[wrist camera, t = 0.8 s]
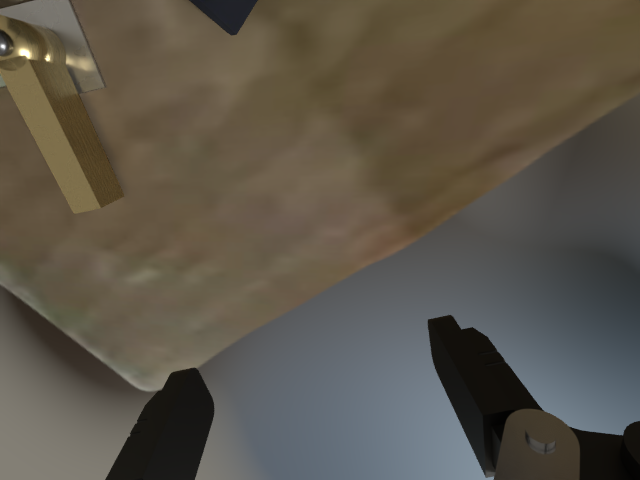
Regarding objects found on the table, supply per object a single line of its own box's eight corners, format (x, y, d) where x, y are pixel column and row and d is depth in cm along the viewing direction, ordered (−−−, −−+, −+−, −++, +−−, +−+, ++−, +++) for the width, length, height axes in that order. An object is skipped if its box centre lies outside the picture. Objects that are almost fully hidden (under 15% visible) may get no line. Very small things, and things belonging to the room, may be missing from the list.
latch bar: (11, 31, 27) (-37, 19, 23) (52, 21, 27) (11, 7, 23) (95, 202, 32) (68, 215, 29) (129, 194, 32) (106, 206, 29)
